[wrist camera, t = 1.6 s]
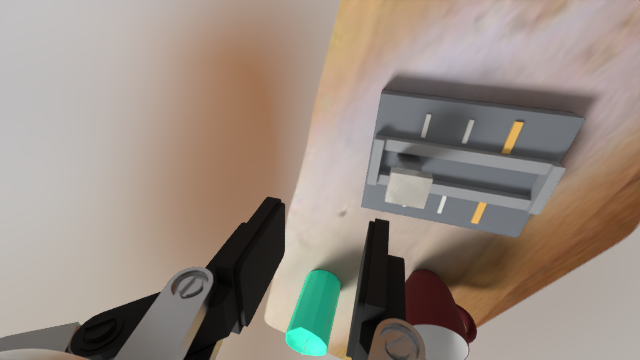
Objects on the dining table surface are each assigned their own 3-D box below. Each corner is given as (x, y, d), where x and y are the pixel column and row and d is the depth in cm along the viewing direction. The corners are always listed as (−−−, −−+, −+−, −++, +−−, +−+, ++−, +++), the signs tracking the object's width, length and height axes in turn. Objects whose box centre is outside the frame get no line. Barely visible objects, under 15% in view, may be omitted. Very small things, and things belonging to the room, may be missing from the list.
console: (382, 89, 29) (380, 96, 26) (573, 112, 26) (595, 123, 23) (362, 198, 36) (359, 213, 33) (511, 227, 33) (522, 246, 30)
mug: (482, 275, 37) (507, 347, 29) (456, 310, 41) (472, 382, 33) (406, 251, 39) (408, 314, 30) (388, 287, 43) (386, 352, 34)
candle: (345, 278, 44) (330, 353, 34) (335, 299, 47) (317, 374, 37) (311, 264, 44) (285, 334, 34) (302, 286, 48) (277, 357, 37)
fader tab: (392, 147, 29) (391, 172, 24) (427, 153, 29) (433, 179, 24) (386, 173, 31) (384, 201, 26) (419, 179, 30) (423, 209, 25)
